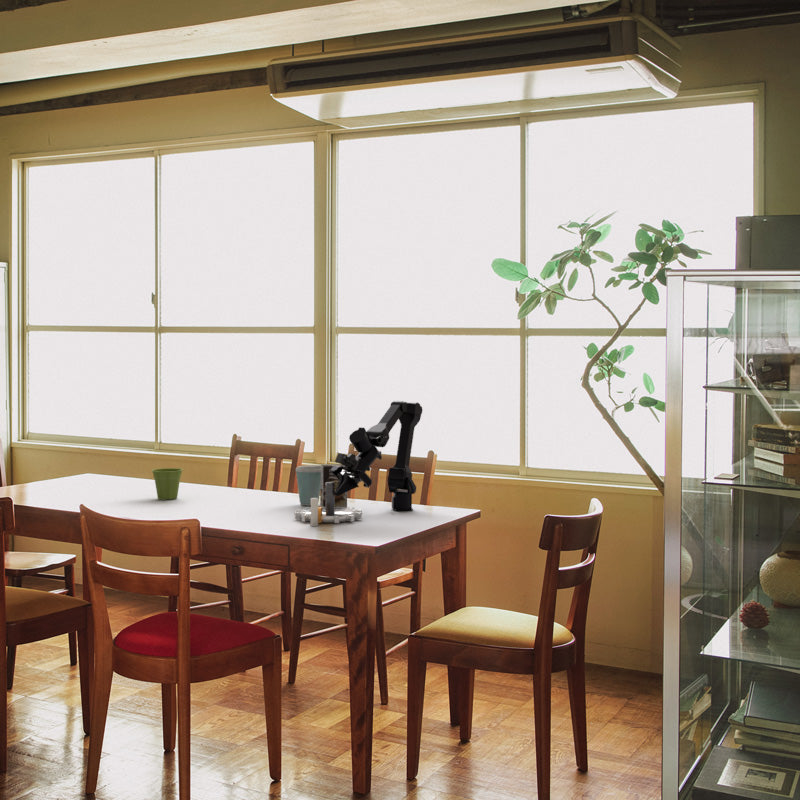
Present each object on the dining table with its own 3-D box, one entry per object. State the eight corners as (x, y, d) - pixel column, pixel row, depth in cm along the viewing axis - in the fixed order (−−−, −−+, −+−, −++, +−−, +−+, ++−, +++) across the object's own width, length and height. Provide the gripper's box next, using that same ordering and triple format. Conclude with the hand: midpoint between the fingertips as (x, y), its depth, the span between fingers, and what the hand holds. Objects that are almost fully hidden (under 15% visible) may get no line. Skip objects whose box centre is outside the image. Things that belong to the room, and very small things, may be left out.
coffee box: (322, 510, 349) (323, 466, 348) (319, 508, 355) (320, 464, 355) (347, 510, 351) (348, 465, 351) (344, 507, 358) (344, 463, 357)
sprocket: (369, 513, 342) (369, 476, 341) (352, 524, 319) (352, 485, 319) (306, 510, 347) (306, 474, 346) (285, 521, 324) (285, 482, 324)
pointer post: (317, 524, 321) (317, 497, 321) (318, 526, 319) (318, 498, 318) (310, 525, 321) (310, 498, 320) (311, 526, 318) (311, 499, 318)
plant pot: (187, 496, 380) (187, 468, 379) (177, 501, 368) (177, 471, 368) (157, 496, 381) (157, 467, 381) (147, 500, 369) (146, 471, 369)
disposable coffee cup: (289, 505, 360) (289, 465, 359) (305, 501, 370) (305, 462, 369) (313, 508, 355) (313, 467, 354) (329, 504, 365) (329, 464, 364)
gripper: (335, 442, 335) (307, 476, 329) (364, 447, 320) (335, 482, 314) (354, 463, 340) (327, 497, 334) (384, 469, 324) (356, 505, 319)
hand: (335, 495), depth 325 cm, fingers closed
